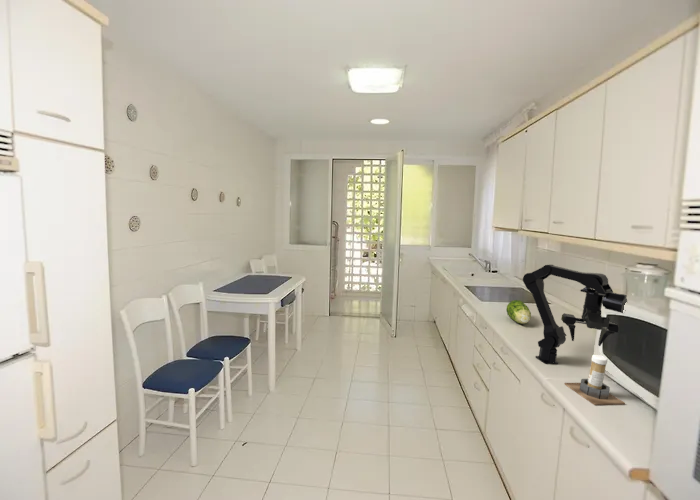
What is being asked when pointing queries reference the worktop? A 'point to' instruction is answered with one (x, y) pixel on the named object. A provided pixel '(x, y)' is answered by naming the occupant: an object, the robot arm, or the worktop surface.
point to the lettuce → (518, 311)
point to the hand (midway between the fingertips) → (585, 343)
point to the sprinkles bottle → (597, 371)
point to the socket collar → (594, 390)
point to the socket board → (610, 401)
